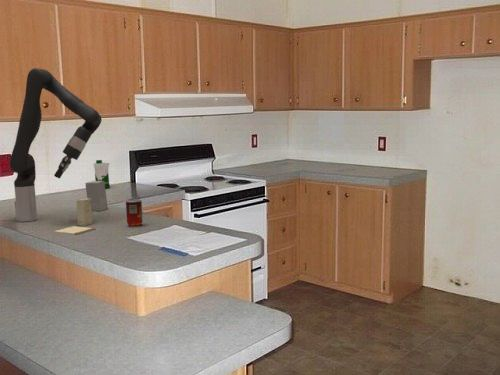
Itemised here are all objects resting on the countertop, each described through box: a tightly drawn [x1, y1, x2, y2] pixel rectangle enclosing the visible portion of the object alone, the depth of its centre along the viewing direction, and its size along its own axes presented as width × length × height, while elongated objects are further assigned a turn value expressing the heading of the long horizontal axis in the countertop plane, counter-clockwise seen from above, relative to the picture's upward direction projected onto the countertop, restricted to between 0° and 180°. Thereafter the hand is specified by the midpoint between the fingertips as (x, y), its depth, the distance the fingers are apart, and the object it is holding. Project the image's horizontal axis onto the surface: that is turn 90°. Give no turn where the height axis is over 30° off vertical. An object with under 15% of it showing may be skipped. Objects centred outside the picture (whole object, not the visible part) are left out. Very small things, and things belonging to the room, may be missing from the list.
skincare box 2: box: [84, 180, 109, 212], centre depth 284 cm, size 8×7×16 cm
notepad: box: [54, 225, 96, 235], centre depth 235 cm, size 14×11×1 cm
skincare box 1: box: [76, 197, 94, 227], centre depth 247 cm, size 6×4×12 cm
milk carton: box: [93, 159, 111, 190], centre depth 369 cm, size 9×9×20 cm
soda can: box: [125, 198, 143, 228], centre depth 242 cm, size 7×7×12 cm
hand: (56, 177), depth 246 cm, fingers open, 8 cm apart
